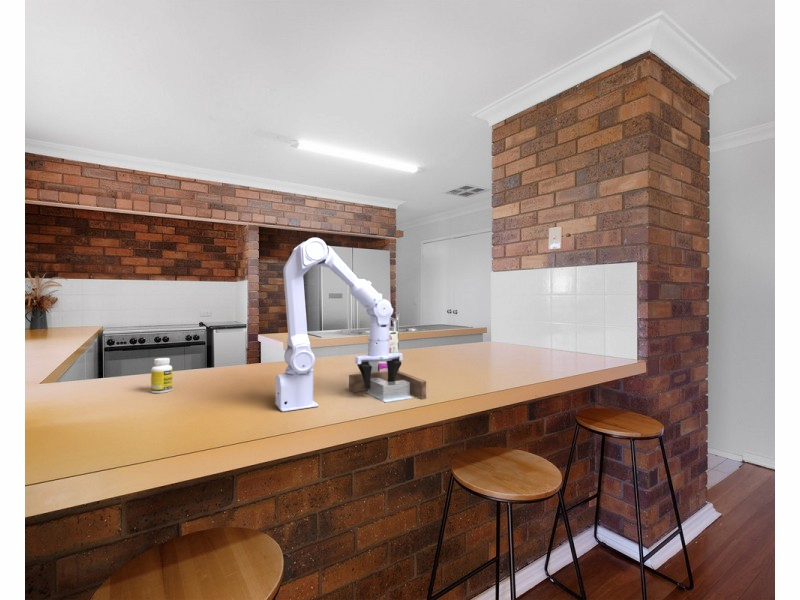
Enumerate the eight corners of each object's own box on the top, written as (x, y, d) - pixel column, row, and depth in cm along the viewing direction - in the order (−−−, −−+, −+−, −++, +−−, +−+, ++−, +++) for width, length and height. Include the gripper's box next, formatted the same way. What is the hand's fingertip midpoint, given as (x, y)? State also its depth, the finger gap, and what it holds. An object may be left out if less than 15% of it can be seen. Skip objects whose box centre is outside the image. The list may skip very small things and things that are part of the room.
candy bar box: (388, 376, 138) (388, 330, 137) (399, 378, 135) (399, 331, 134) (367, 382, 129) (367, 333, 129) (378, 384, 126) (378, 334, 126)
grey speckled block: (367, 392, 115) (367, 378, 115) (392, 388, 119) (392, 375, 119) (383, 400, 107) (383, 386, 106) (409, 396, 111) (409, 382, 111)
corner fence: (375, 406, 101) (375, 387, 101) (348, 391, 117) (349, 374, 117) (426, 398, 109) (426, 381, 109) (395, 385, 125) (395, 369, 125)
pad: (385, 402, 105) (385, 402, 105) (366, 392, 115) (366, 392, 115) (413, 398, 110) (413, 397, 110) (392, 389, 120) (392, 388, 120)
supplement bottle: (165, 393, 113) (165, 360, 113) (146, 393, 113) (146, 360, 113) (176, 389, 118) (176, 357, 118) (158, 389, 119) (158, 357, 118)
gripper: (362, 343, 105) (362, 392, 105) (408, 339, 112) (407, 386, 113) (352, 340, 111) (352, 387, 112) (396, 337, 118) (395, 381, 119)
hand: (379, 386), depth 112 cm, fingers open, 7 cm apart
